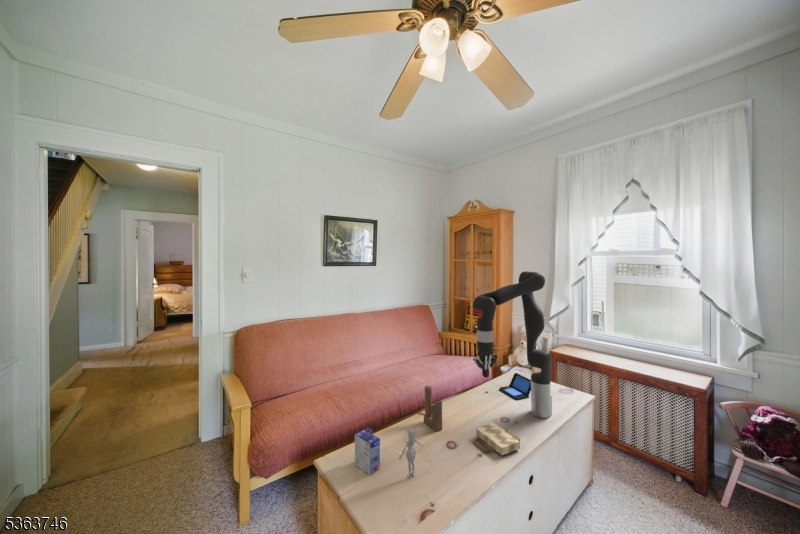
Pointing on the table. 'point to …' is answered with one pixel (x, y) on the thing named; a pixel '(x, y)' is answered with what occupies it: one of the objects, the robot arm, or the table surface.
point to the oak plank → (498, 438)
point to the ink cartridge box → (367, 451)
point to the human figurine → (410, 451)
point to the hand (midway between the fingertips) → (485, 376)
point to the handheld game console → (518, 387)
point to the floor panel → (486, 447)
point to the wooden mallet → (432, 411)
